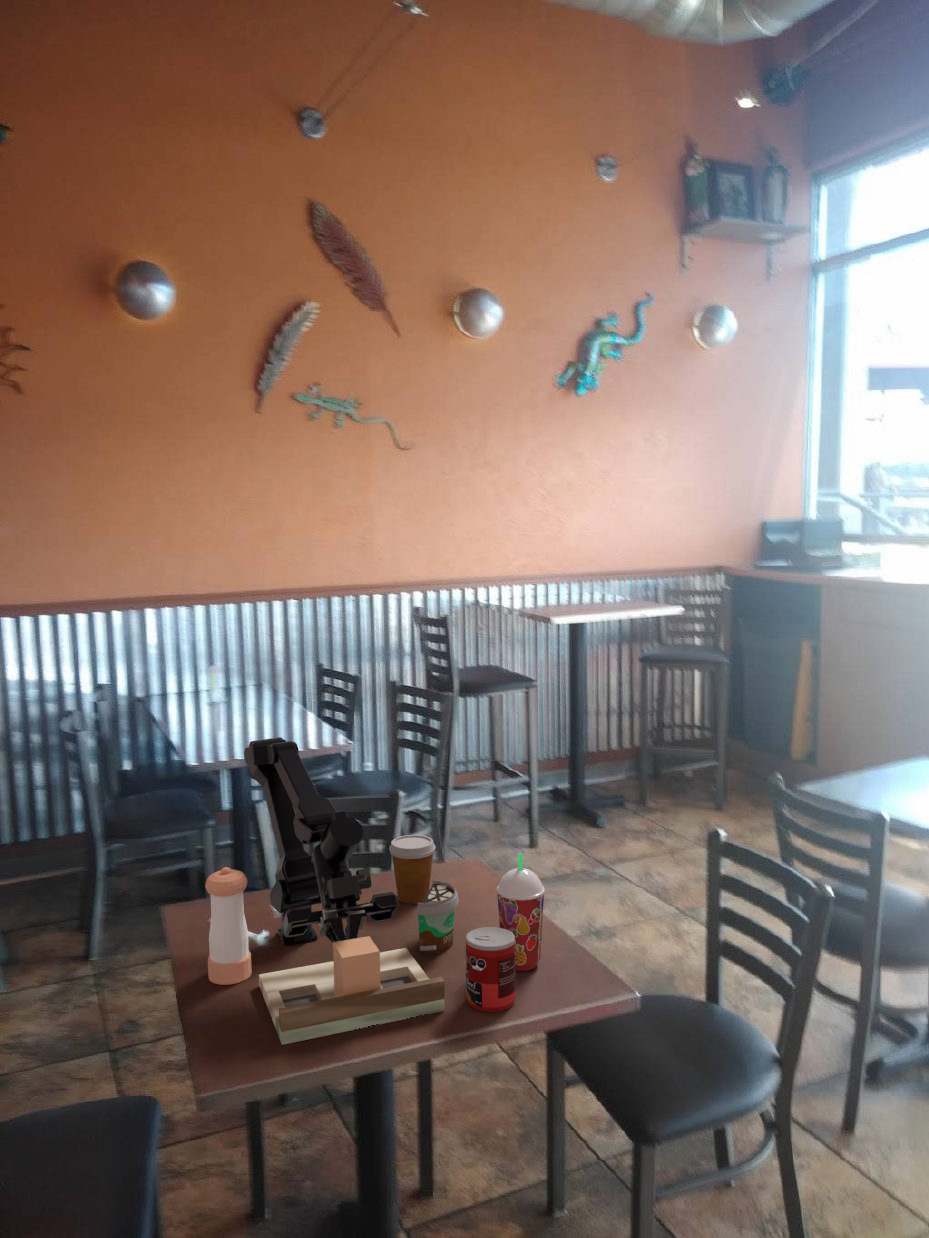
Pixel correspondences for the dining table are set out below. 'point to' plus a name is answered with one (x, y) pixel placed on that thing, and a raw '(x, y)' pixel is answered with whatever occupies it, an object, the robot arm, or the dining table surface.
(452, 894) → the food container
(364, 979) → the block
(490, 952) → the canned food
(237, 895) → the salt shaker
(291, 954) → the dining table surface
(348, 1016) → the board
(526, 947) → the smoothie
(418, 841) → the disposable coffee cup
